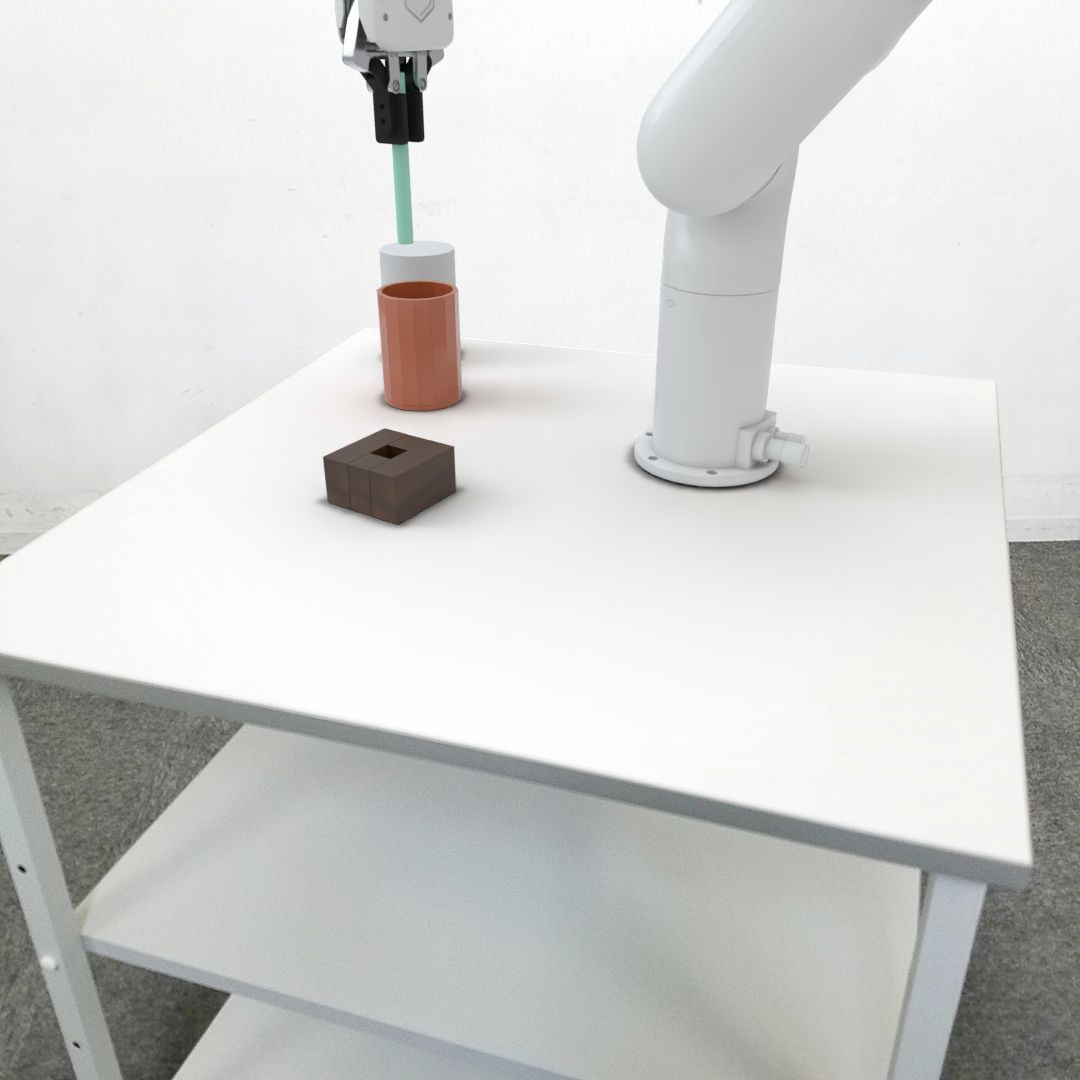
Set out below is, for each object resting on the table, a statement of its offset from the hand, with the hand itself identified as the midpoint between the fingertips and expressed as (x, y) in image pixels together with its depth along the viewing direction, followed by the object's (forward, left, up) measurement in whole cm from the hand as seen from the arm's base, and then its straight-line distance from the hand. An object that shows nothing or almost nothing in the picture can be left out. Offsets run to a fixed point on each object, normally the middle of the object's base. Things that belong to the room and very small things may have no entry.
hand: (400, 141), depth 89 cm
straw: (0, 0, -9) cm, 9 cm away
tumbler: (+3, -5, -25) cm, 26 cm away
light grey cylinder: (+12, -16, -25) cm, 32 cm away
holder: (-10, +15, -25) cm, 31 cm away
